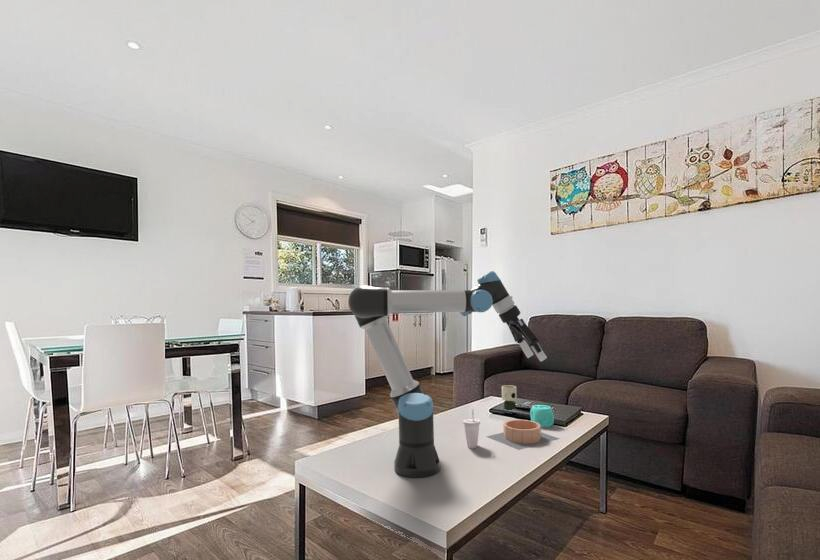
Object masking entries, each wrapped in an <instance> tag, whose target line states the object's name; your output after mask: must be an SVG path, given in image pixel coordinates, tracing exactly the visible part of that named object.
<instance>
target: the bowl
mask: <svg viewBox="0 0 820 560" xmlns="http://www.w3.org/2000/svg"><path fill="white" fill-rule="evenodd" d="M502 428H503V429H502V430H503V432H504V438H505V439H506V440H508V441H511V442H515V443H523V444H528V443H536V442H539V441H540V440H541V432H542V427H541V425H540V424H539V423H537V422H534V421H531V420H528V419H511V420H506V421H504V422H503V427H502Z"/></svg>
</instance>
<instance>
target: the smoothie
mask: <svg viewBox="0 0 820 560" xmlns="http://www.w3.org/2000/svg"><path fill="white" fill-rule="evenodd" d="M480 421H481V420H480V419H477V418H475V417H474V409H473V408H471V418H466V419H463V421H462V422H463V425H464V433H465V439H466V440H465V441H466V446H467V448H468V449H477V447H478V444H479V431H480V424H481V422H480Z"/></svg>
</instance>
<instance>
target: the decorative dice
mask: <svg viewBox="0 0 820 560" xmlns="http://www.w3.org/2000/svg"><path fill="white" fill-rule="evenodd" d="M529 413H530V421H534V422H537V423H539V424H540V425H541V428H550V427H552V426H553V425H554V421H555V418H554V417H555V416H554V411H553V409H552V407H551V406H550V405H546V404H534V405H532V406H531V407H530V410H529Z"/></svg>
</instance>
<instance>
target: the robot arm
mask: <svg viewBox="0 0 820 560" xmlns="http://www.w3.org/2000/svg"><path fill="white" fill-rule="evenodd" d="M477 283H478V284H477V285H475V286H474V287H473V288H471V289H469V290H468V289H467V290H466V289H465V290H464V289H461V290H460V289H452V290H451V289H447V290H444V289H443V290H442V289H441V290H440V289H439V290H438V289H434V290H433V289H431V290H428V289H426V290H424V289H423V290H421V289H420V290H416V289H415V290H414V289H413V290H398V289H397V290H392V289H390V287H378V286H372V285H363V284H362V285H359V286H357V287H355V288H354V289H353V290H352V291H351V292H350V294H349V296H348V308H349V310H350V312H351V313H352V314H353V315H354V317H355V320H356V322H357V324H358V327H359V328H361V329H363V330H365V332H366V335H367V336H368V339H369V341H370V343H371V345H372V347H373V348H372V349H373V350H374V352H375V354H376V357H377V358H378V362H379V363H380V366H381V368H382V371H383V373H384V375H385V378H386V379H387V382H388V384H389V386H390V388H391V391H390V393H389V396H390V399H391V401H392V404H393V405H394V408H395V410H396V413H397V419H398V442H399V443H398V448H397V451H396V456H395V459H394V462H393V463H394V468H393V469H394V472H395V473H397V474H398V473H399V474H398V475H400V476H402V475H403V477H408V478H425V477H426V478H427V477H430V476H433V475H436V474H437V473H438V472H439V471H440V469H441V462H440V458H439V454H438V451H437V449H436V446H435V433H434V432H435V430H434V403H433V399H432V397H431V396H430V395H428V394H425V393H424V391H423V388H422V386H421V385H420V382H419V381H417V380H416V379H414V378H413V375H412V374H411V371H410V370H409V367H408V364H407V362H406V361H405V358H404V356H403V354H402V351H401V349H400V347H399V345H398V343H397V342H398V341H396V337H395V336H394V333H393V331H392V329H391V327H390V324H389V322H388V318H389V316H391V314H396V313H397V314H399V313H401V314H404V313H405V314H406V313H408V314H409V313H459V314H460V315H461V316H463V317H466V316H468V315H471V314H472V313H485V312H487V311H489V310H490V309H491V308H492V307H493V309H494V310H495V312H496V314H498V316H499V319H500V321H502V323H503V324H506V325H507V327H508V328H509V331H510V333H511V335H512V337H513V340H514V342H516V343H517V344H518V345H519V347H520V348H521V349H522V352H523V353H524V354H525V355H524V356H526V358H527V359H529V358H531V357H532V356H534V355H535V356H536V357H537V359H538V360H539V361H540V362H543V361H544V360H546V359H547V358H548V357H547V355H546V354H545V351H544V350H543V349H542V347H541V346H540V344H539V343H538V342H539V340H540V339H538V337H536V335H535V334H534V333H533V331H532V330H531V329H530V327H528V325H527V324H526V323H525V321H524V319H523V318H519V316H520V315H521V311H520V309H519V308H518V306H517V305H515V301H514V300H513V296H512V295H511V294H509V292H508V291H507V288H506V287H505V285H504V283H503V282H502V279H501V278H500V277H499V276H498V275H497V273H496V272H495V271H493V270H492V271H491V270H490V271H488V272H487V273H485V274H483V275H481V276H480V277H479V278H477ZM534 353H535V354H534Z"/></svg>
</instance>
